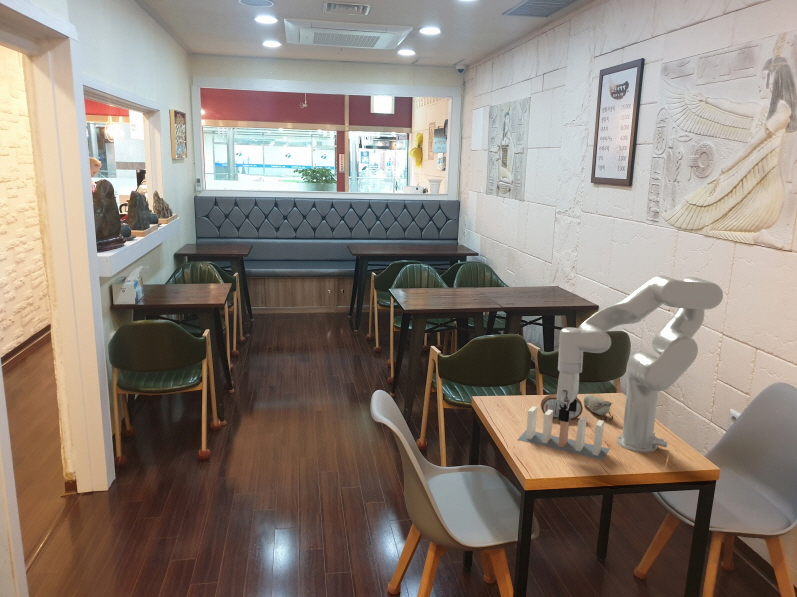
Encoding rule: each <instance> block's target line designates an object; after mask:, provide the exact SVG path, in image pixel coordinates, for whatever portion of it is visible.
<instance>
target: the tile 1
mask: <svg viewBox="0 0 797 597" xmlns="http://www.w3.org/2000/svg"><path fill="white" fill-rule="evenodd" d="M537 414H538V406H533V405H532V406H531V407H530V408H529V409H528V410H527V422H526V430H527V433H526V439H530V440H531V439H532V438H533V437H534V435H535V432H536V429H537V428H536V426H537Z"/></svg>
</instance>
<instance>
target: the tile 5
mask: <svg viewBox="0 0 797 597" xmlns="http://www.w3.org/2000/svg"><path fill="white" fill-rule="evenodd" d="M602 420H603V419H602ZM602 420H601V419H598V421H597V422H596V424H595V430H594V438H593V445H594V448H593V455H597V456H598V455H599V453H600V451H601V447H603V446H602V445H603V436H604V426H605V424H604V423H605V421H604V420H603V421H602Z"/></svg>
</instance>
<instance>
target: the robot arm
mask: <svg viewBox="0 0 797 597" xmlns="http://www.w3.org/2000/svg"><path fill="white" fill-rule="evenodd" d="M723 299H724V293H723V289H722V288H721V287H720V285H718V284H717V283H715V282H712V281H709V280H706V279H703V278H698V277H694V276H688V277H684V278H682V280H680V279H675V278H671V277H668V276H665V275H656V276H653V277H651V278H650V279H648V280H647V281H646V282H645V283H643V284H642V285H641V286H639V287H638V288H637V289H635V290H634V291H633V292H632V293H631V294H629V295H628V296H626V297H625V298H624V299H622V300H621V301H620V302H619V301H618V302H617V303H614V304H612V305H610V306H608V307H607V306H606V307H605V308H603V309H600V310H599V311H597V312H595V313H594V314H592V315H591V316H590V317H589V318H587V319H586V320H585V321H584V322H582V323H581V324H580V325H579V326H578V327H570V326H569V327H563V328H562V329H560V331H559V339H558V340H559V341H558V342H559V343H558V362H557V364H558V365H557V370H558V372H559V375H558V381H557V390H556V391H557V392H556V395H557V401H560V405H559V418H558V421H560V422H561V421H564V422H569V423H570V419H569V411H572V412H576V409H577V398H578V395H579V389H580V374H581V373H582V372H583V360H584V359H583V358H584V352H585V353H592V354H593V353H594V354H601V353H602V354H603V353H604V352H605V353H606V352H607V351H608V350H609V349H610V347H611V346H612V338H611V337H610V335H609V334H608V333H607V331H609V330H611V329H613V328H615V327H618V326H624V325H631V324H637V323H640V322H641V321H643V320H644V319H645V318H646V317H648V316H649V315H650V314H652V313H653V312H654V311H656V310H657V309H658V308H660V307H661V306H662V305H663V306H665V307H666V306H667V307H670V308H676V311H675V313H674V314H673V315H672V317H671V318H670V319H669V320H668V321H667V323H666V324H664V326H663V327H662V328H661V329H660V330H659V331H658V332H657V333H656V334H655V335H654V337H653V339H652V341H651V347H652V349H653V351H654V352H655V353H657V355H659V356H658V357H656V356H655V355H653V354H651V353H649V352H644V351H639V352H635V353H634V354H632V355H631V356H630V357H629V359H628V360H627V364H626V383H627V384H626V385H627V386H626V396H625V404H624V405H625V406H624V416H623V417H624V418H623V428H622V434H620V435H618V436H617V437H616V443H617V444H618V445H619V446H620V447H621V448H624V449H626V450H629V451H633V452H638V453H652V452H655V451H656V450H657V449H658V446H660V447H661V448H662V447H663V448H665V449H666V448H668V441H666V440H665V438H661V437H658V436H656V432H655V431H654V430H655V425H656V424H655V423H656V417H657V416H656V415H657V406H658V399H659V393H658V392H664V391H666V390H667V389H669V388H670V387H672V386H673V385H674V384H675V383H676V382H677V380H678V379H680V378H681V376H683V375H684V373H685V372H687V370H688V369H690V367H691V366H692V365H693V363H694V362H695V361H696V358H697V356H698V353H699V348H698V347H699V346H698V344H697V342H696V341H695V339H694V338H693V336H695V334H696V333H697V332H698V331H699V330H700V328H701V327H702V325H703V322H704V320H705V319H704V318H705V310H706V311H707V310H713V309H715V308H716V307H719V305H720V304H721V303H722V301H723ZM565 403H567V406H566V404H565Z"/></svg>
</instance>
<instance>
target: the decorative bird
mask: <svg viewBox="0 0 797 597" xmlns="http://www.w3.org/2000/svg"><path fill="white" fill-rule="evenodd" d="M613 404H614V403H613V402H611V401H607V400H604V399H603V398H601V397H598V396H594V395H592V394H586V395H585V396H584V399H583V405H584V407H585V408H587V407H588V408H589V409H590V411H591V412H592V413H594V414H596V415H599V416H603V419H602V421H604V422H605V421H607V420H608V421H612V420H614V415H612V413H611V412H610V410H611V406H612V405H613ZM607 414H609V417H610V418H609V419H608V418H607V416H608V415H607Z"/></svg>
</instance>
